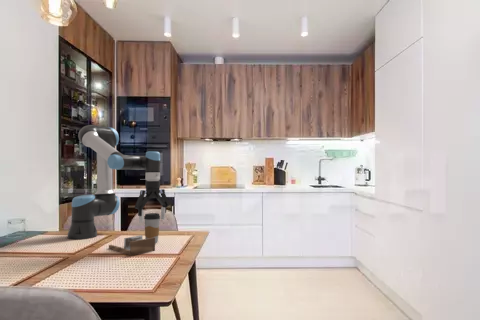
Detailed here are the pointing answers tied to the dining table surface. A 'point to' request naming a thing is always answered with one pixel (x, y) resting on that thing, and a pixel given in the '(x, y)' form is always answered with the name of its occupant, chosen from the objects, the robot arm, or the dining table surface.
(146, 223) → the coffee cup
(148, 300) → the dining table surface
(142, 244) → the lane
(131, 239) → the pusher
